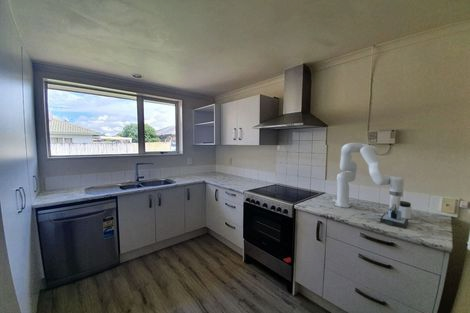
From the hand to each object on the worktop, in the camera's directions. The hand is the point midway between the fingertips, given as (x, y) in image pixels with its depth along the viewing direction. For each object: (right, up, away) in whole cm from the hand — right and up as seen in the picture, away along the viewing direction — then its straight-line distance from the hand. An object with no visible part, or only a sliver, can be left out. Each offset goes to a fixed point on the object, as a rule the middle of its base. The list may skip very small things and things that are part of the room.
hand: (394, 216), depth 138 cm
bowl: (0, -1, 0) cm, 1 cm away
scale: (0, -4, 0) cm, 5 cm away
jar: (+15, -4, +10) cm, 19 cm away
